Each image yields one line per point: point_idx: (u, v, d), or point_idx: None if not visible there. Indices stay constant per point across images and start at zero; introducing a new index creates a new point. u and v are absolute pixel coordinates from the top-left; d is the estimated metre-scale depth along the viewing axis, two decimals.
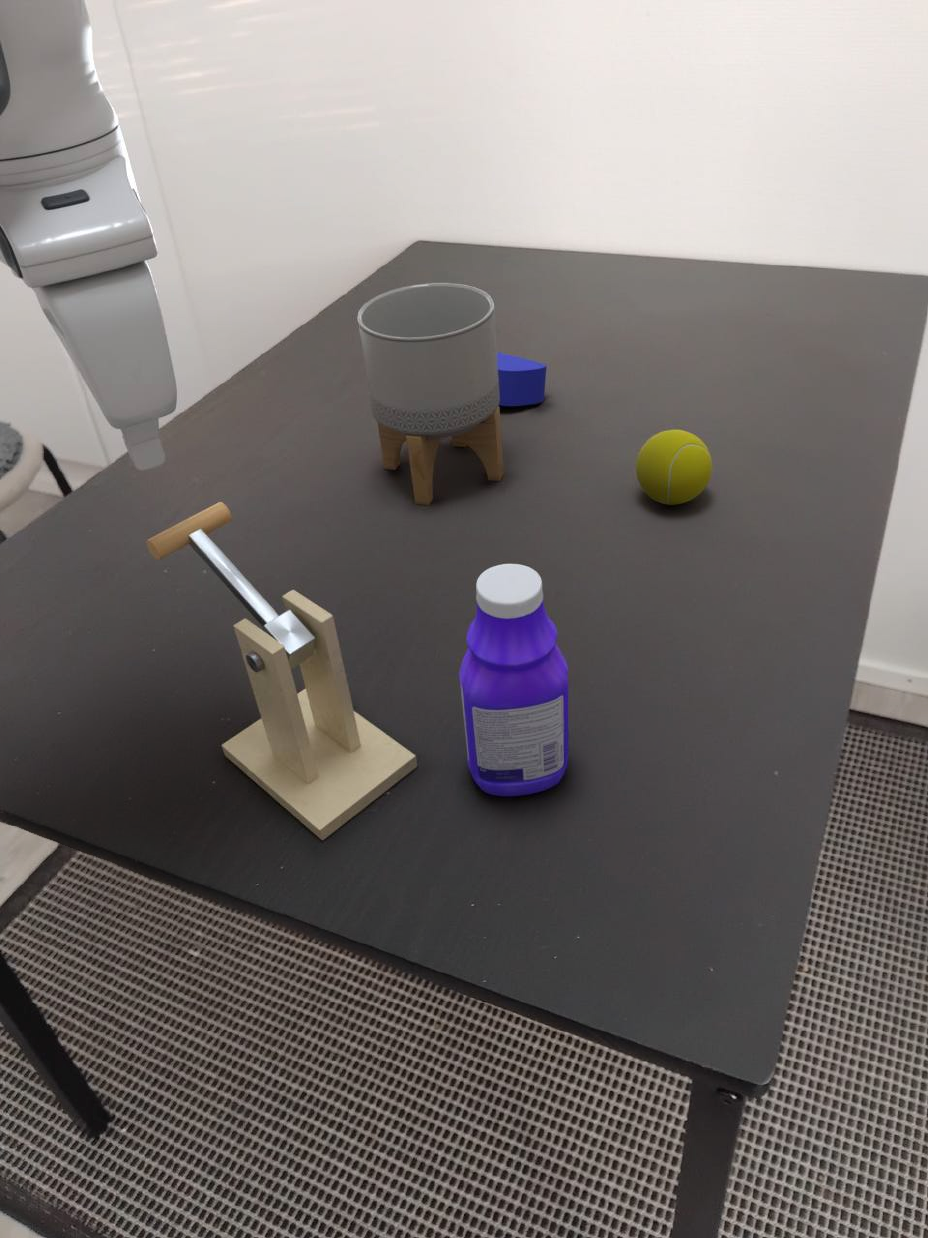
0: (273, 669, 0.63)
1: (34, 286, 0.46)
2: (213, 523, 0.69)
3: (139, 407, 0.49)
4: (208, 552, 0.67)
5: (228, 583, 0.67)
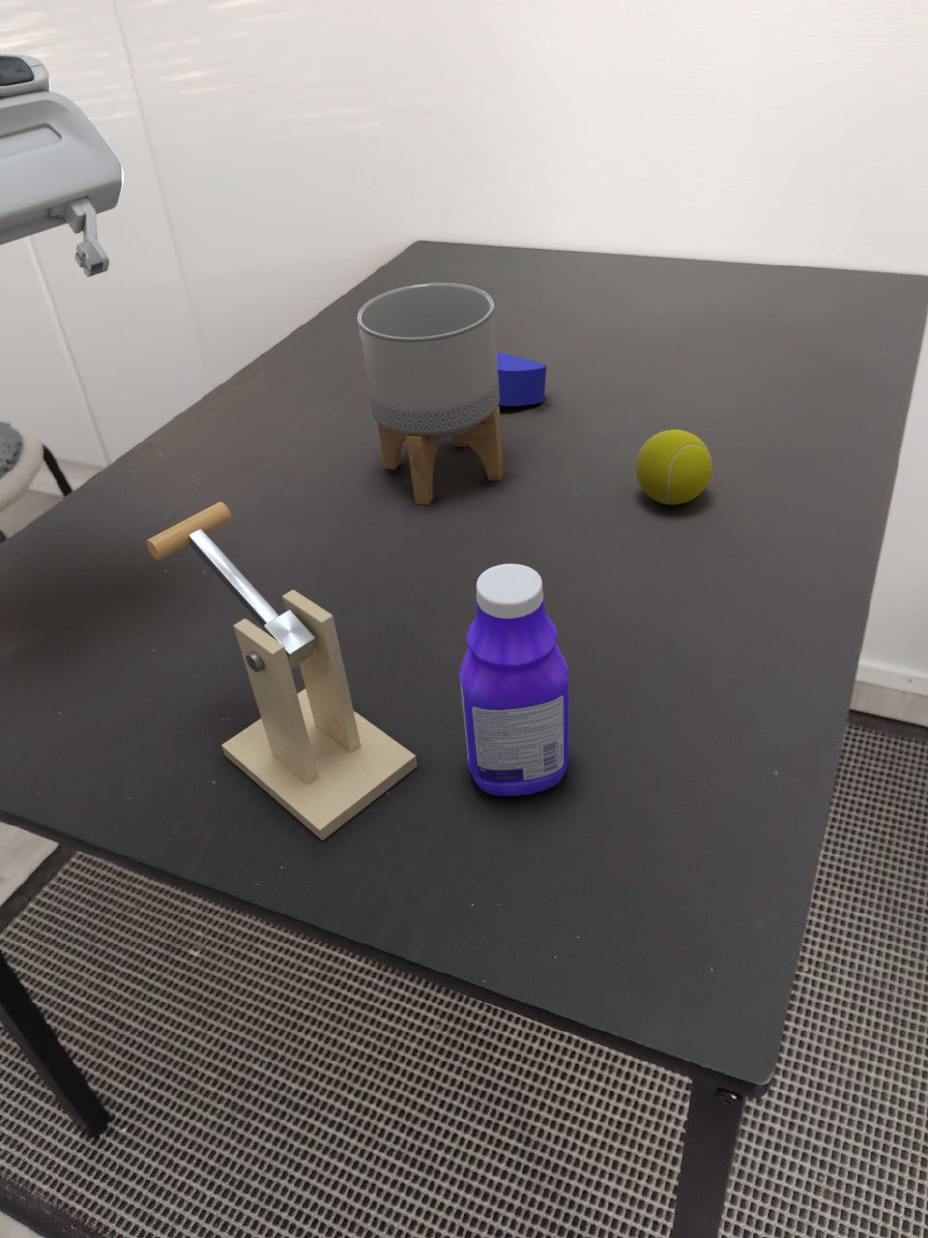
0: (273, 669, 0.63)
1: (49, 80, 0.68)
2: (213, 523, 0.69)
3: None
4: (208, 552, 0.67)
5: (228, 583, 0.67)
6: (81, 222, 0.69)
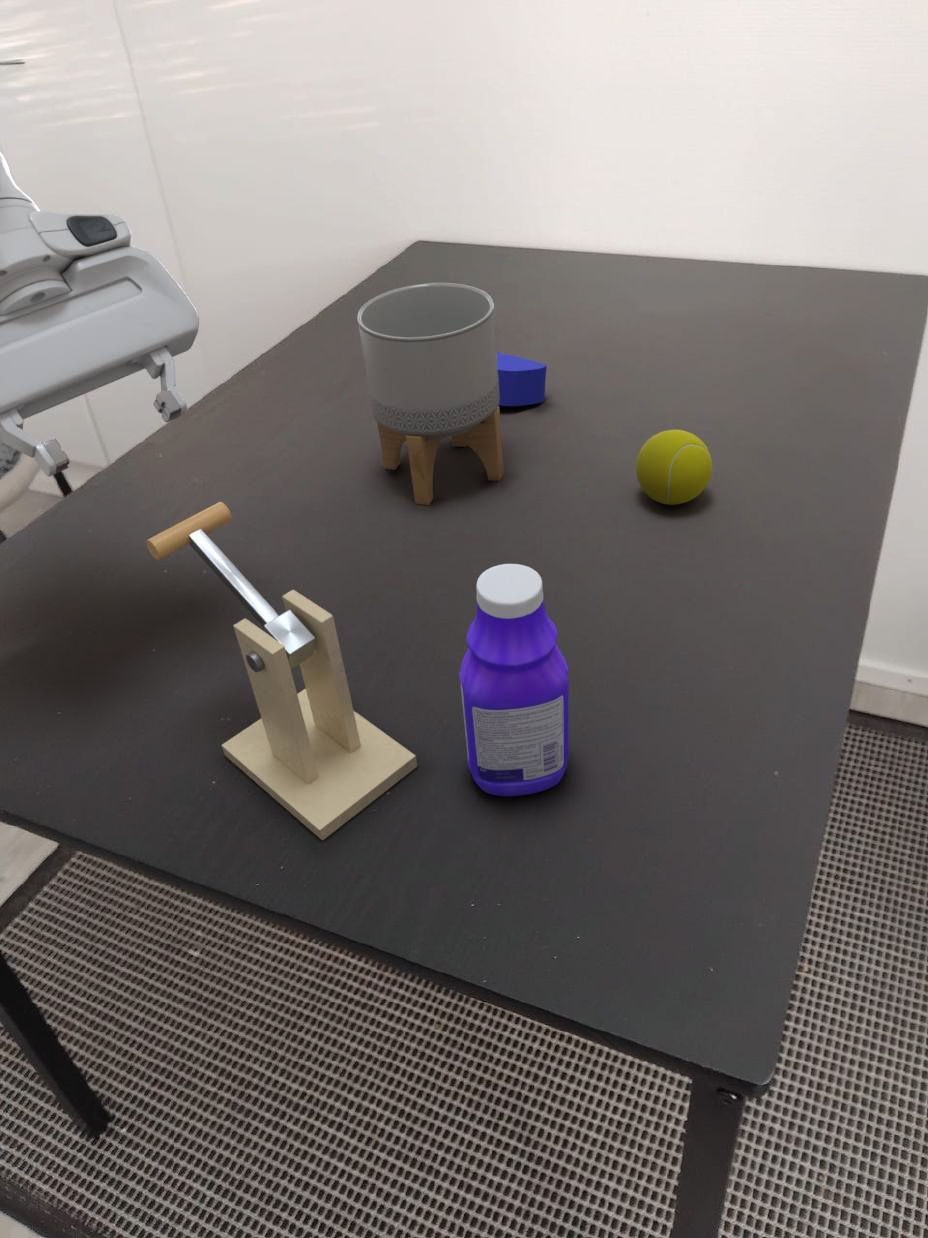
0: (273, 669, 0.63)
1: None
2: (213, 523, 0.69)
3: None
4: (208, 552, 0.67)
5: (228, 583, 0.67)
6: (160, 370, 0.72)
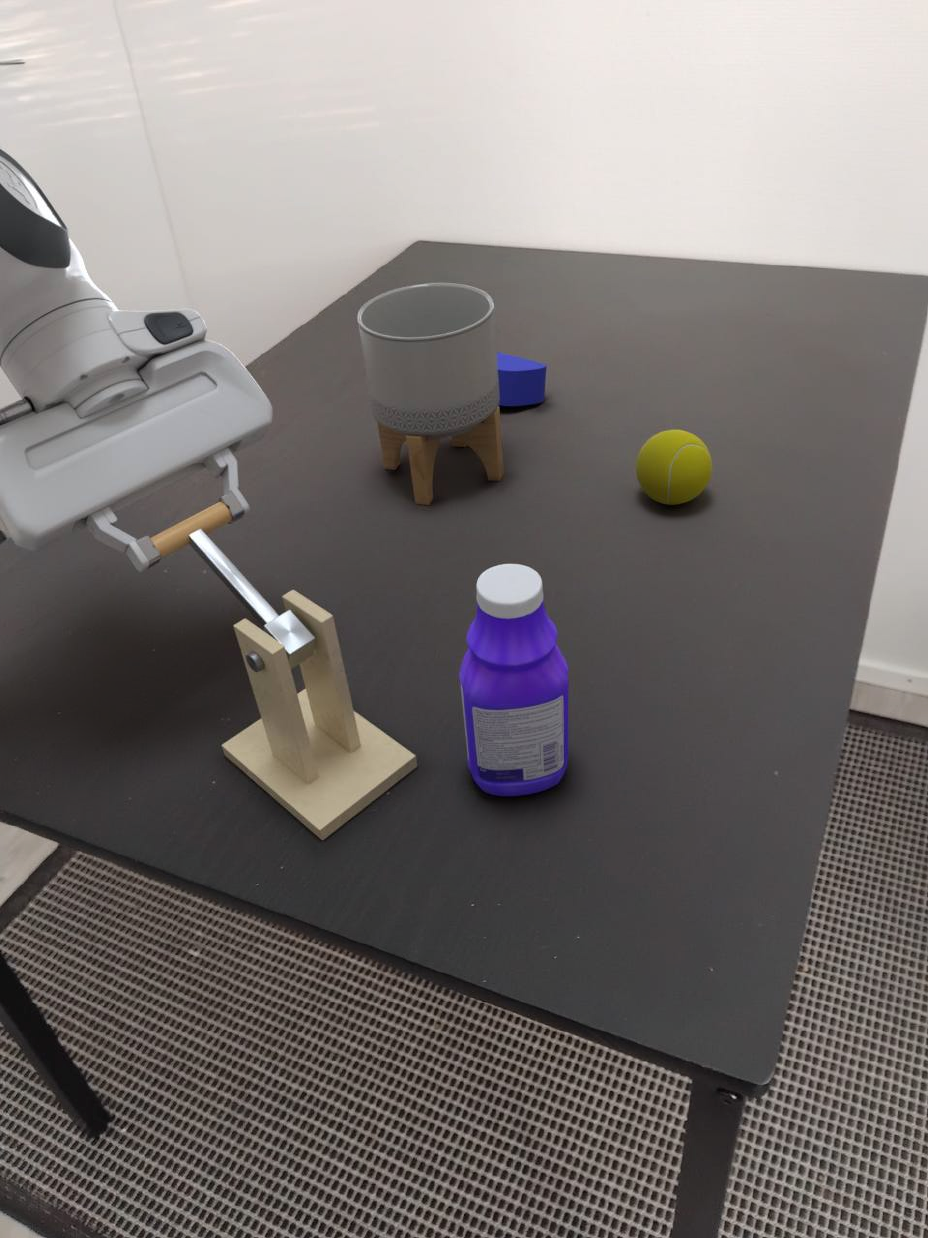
0: (273, 669, 0.63)
1: (206, 331, 0.70)
2: (213, 523, 0.69)
3: None
4: (207, 552, 0.67)
5: (228, 583, 0.67)
6: (222, 471, 0.70)
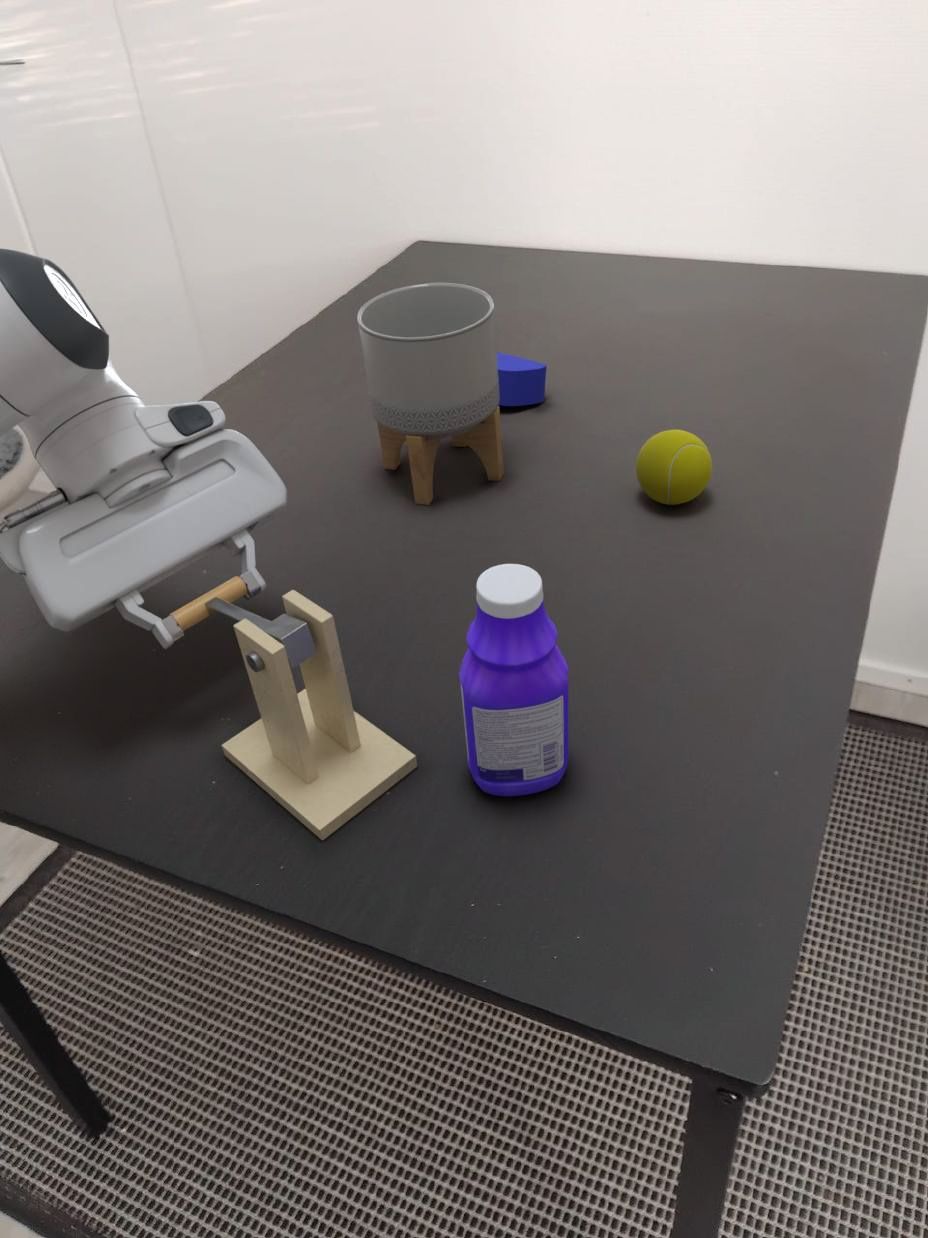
0: (273, 669, 0.63)
1: None
2: (227, 591, 0.73)
3: None
4: (219, 607, 0.71)
5: (236, 622, 0.69)
6: (240, 550, 0.75)
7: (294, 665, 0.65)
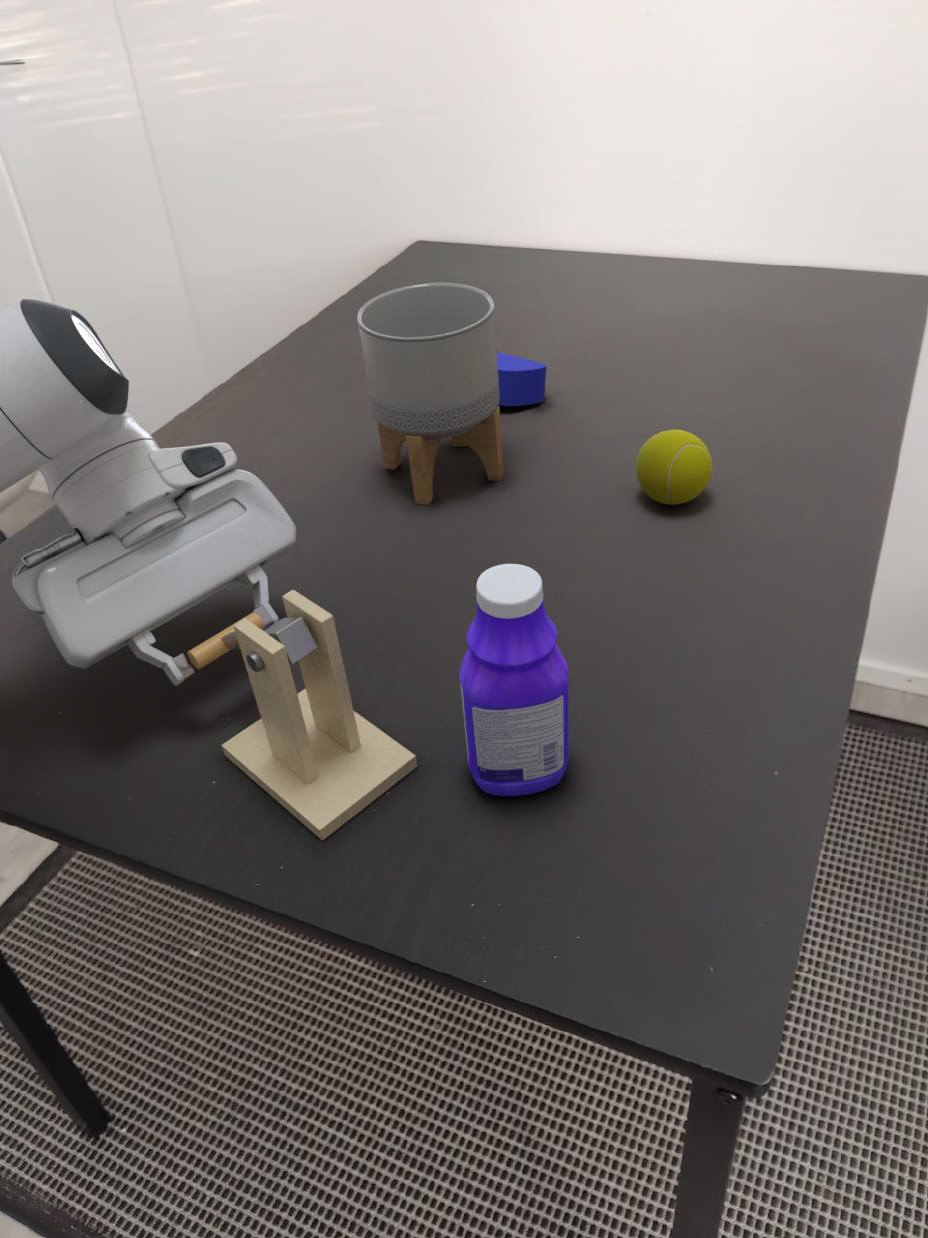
0: (273, 669, 0.63)
1: None
2: None
3: None
4: (232, 636, 0.72)
5: None
6: (254, 585, 0.78)
7: (294, 660, 0.64)
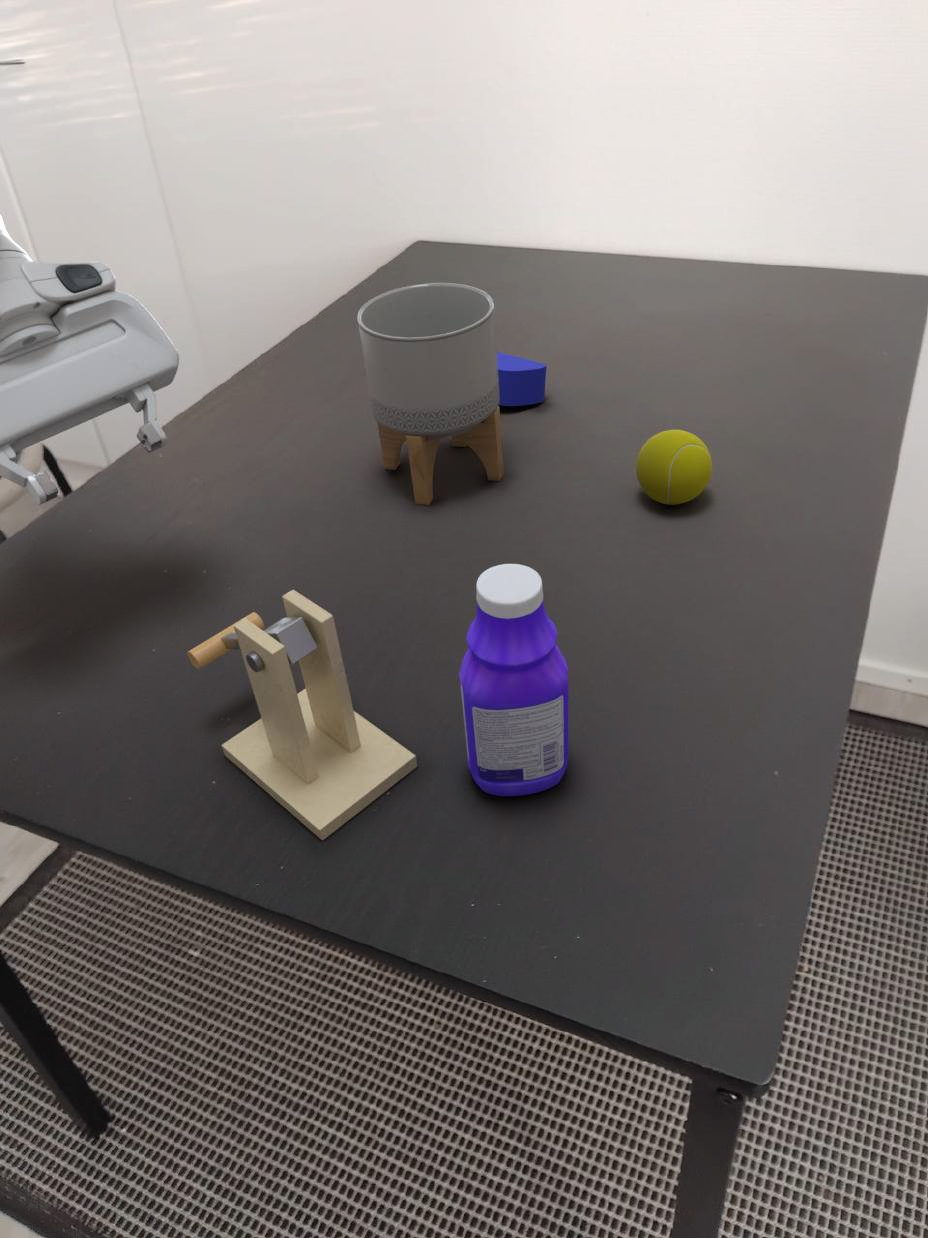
0: (273, 669, 0.63)
1: (115, 282, 0.76)
2: None
3: None
4: (232, 636, 0.72)
5: None
6: (142, 404, 0.78)
7: (294, 660, 0.64)
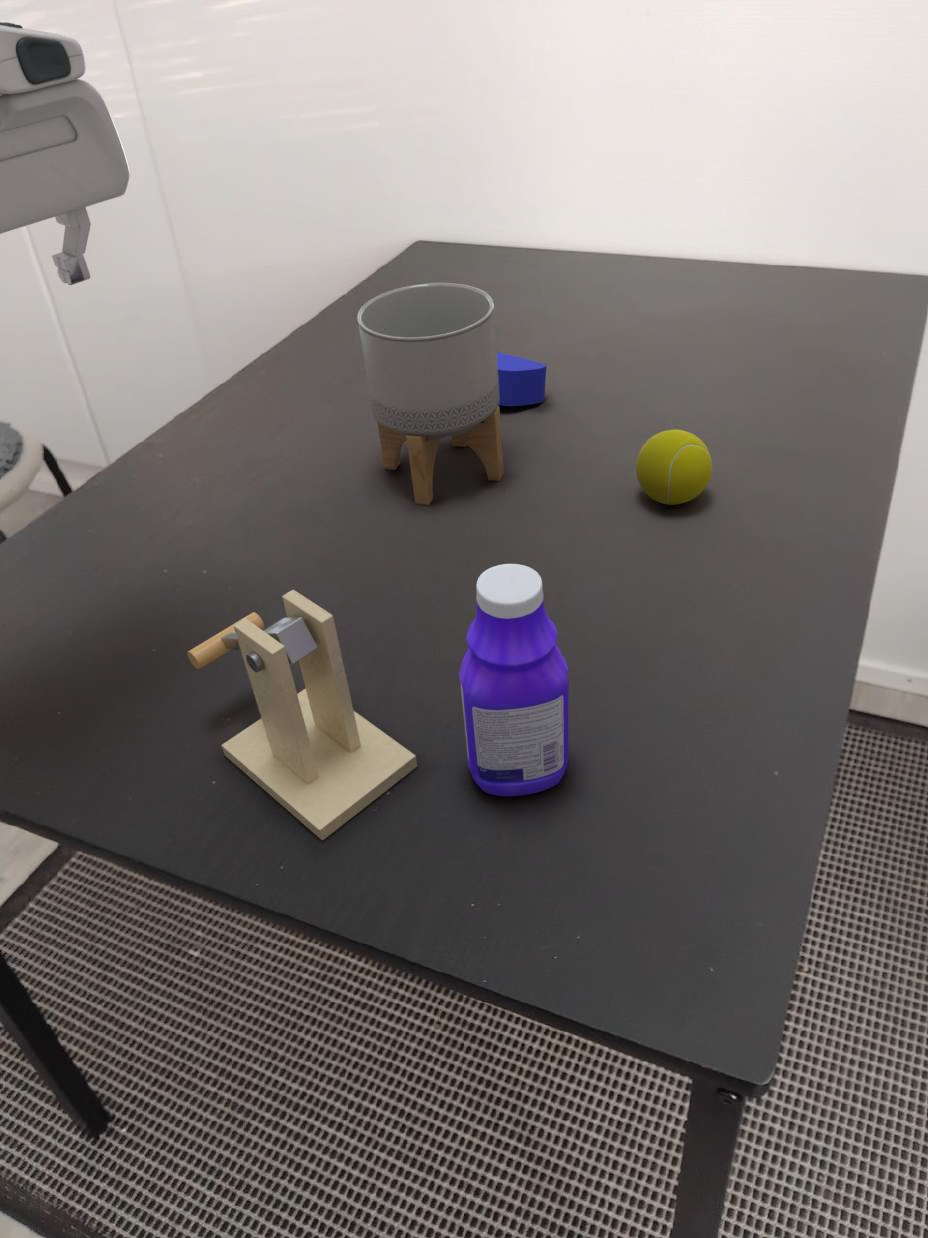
0: (273, 669, 0.63)
1: (84, 72, 0.59)
2: None
3: None
4: (232, 636, 0.72)
5: None
6: None
7: (294, 660, 0.64)
